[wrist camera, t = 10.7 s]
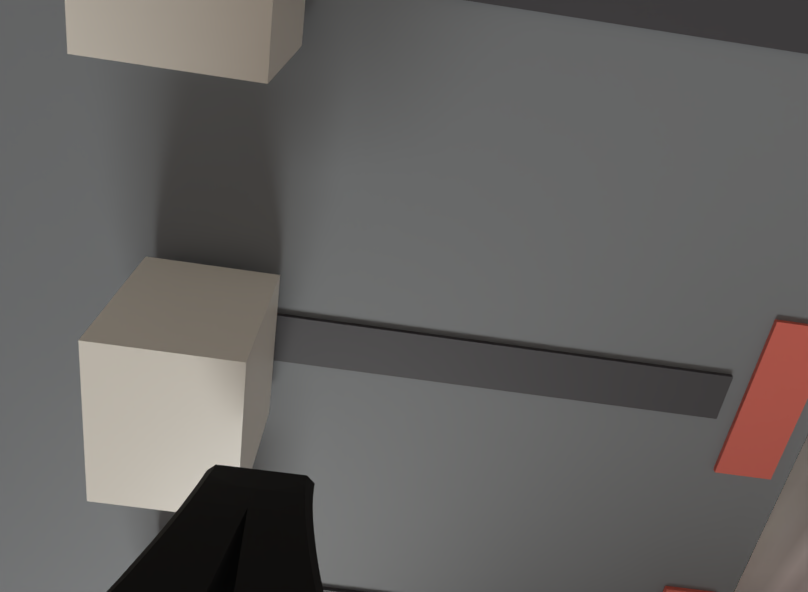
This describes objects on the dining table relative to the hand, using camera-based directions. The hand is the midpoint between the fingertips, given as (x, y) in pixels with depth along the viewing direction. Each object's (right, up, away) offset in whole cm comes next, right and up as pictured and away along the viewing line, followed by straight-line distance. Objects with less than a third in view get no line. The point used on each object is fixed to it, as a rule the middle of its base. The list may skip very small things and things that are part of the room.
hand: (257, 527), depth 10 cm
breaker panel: (+2, +2, +5) cm, 6 cm away
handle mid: (-2, +2, +4) cm, 5 cm away
